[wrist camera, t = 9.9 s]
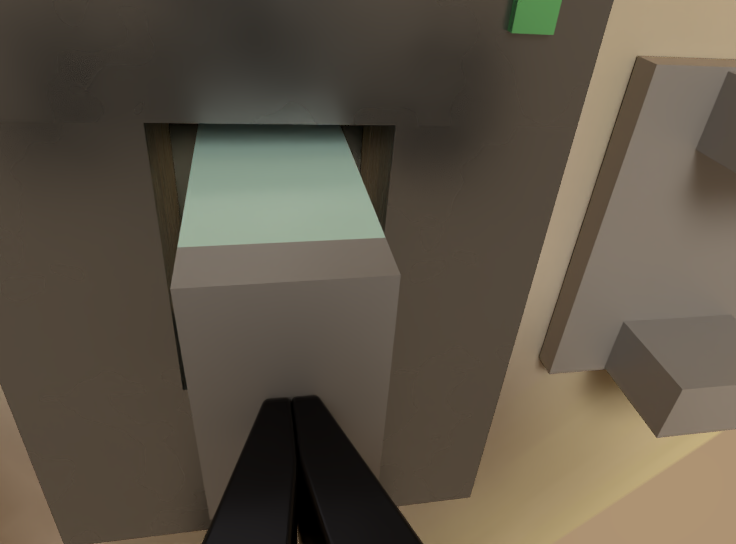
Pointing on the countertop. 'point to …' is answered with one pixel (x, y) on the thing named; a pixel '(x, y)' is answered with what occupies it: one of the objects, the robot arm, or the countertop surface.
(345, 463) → the robot arm
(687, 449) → the countertop surface
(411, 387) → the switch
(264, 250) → the plug
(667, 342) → the holster
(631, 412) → the countertop surface
